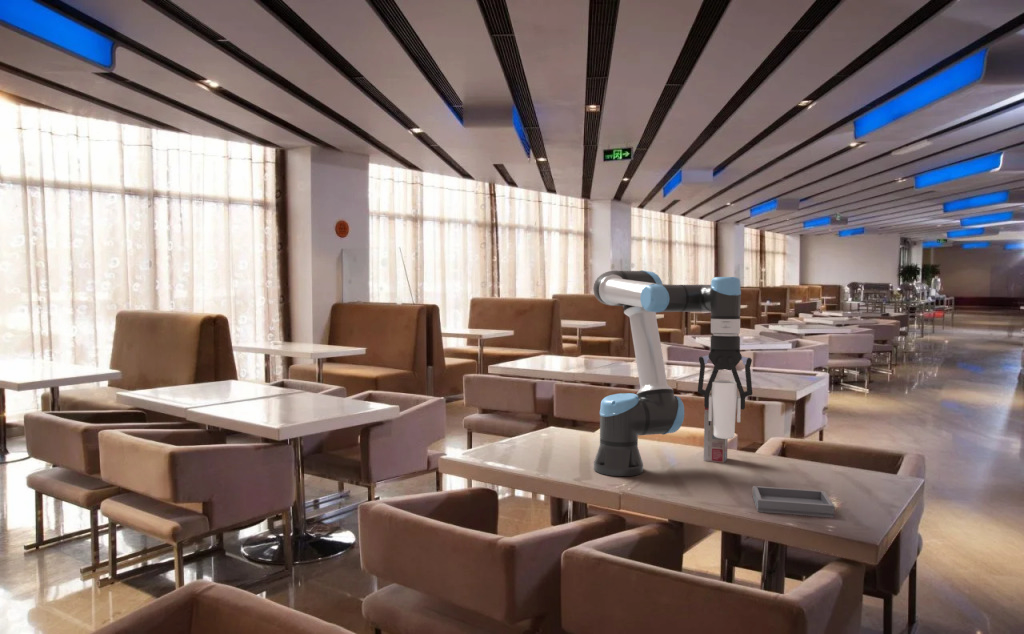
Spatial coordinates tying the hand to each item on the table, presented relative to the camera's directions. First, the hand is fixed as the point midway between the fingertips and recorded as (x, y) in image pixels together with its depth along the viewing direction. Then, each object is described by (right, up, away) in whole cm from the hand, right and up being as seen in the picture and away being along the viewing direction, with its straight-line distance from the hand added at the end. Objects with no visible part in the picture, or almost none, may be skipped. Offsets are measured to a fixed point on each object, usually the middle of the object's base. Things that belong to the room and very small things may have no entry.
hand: (724, 420), depth 187 cm
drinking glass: (0, -5, 0) cm, 5 cm away
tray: (+16, -22, -5) cm, 27 cm away
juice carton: (+11, -20, +44) cm, 50 cm away
